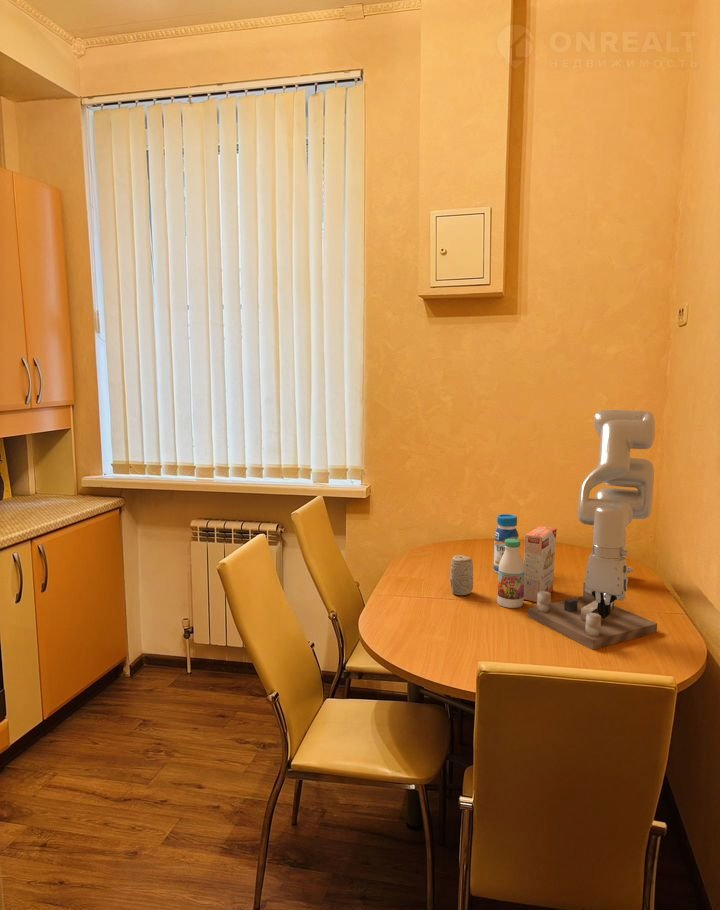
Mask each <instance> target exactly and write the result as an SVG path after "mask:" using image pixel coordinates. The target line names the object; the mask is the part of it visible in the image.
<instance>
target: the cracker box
mask: <svg viewBox="0 0 720 910" xmlns="http://www.w3.org/2000/svg"><path fill="white" fill-rule="evenodd" d="M557 532H558V531H557V528H556V527H551V526H543V525H539V526H537V527H536V528H535V529H532V530H531V531H529V532H527V533H526V534H524V551H523V552H524V554H523V563H524V598H523V601H524V600H525V601H530V602H534V603H537V595H538V592H540V591H545V592H549V593H550V594H551V592H552V591H554V578H555V577H554V575H555V574H554V573H555V559H556V546H557V545H556V544H557V543H556V542H557Z"/></svg>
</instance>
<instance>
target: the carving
mask: <svg viewBox="0 0 720 910" xmlns="http://www.w3.org/2000/svg"><path fill="white" fill-rule="evenodd" d="M473 564H474V563H473V559H472V558H471V557H470V556H466V555H463V554H458V555H457V554H456V555H454V556H453V557H452V558H451V562H450V566H451V567H450V571H449V572H450V573H449V575H450V576H449V583H450V587H451V593H452V594H454V595H455V596H466V595H470V594H471V593H472V592H473V589H474V565H473Z"/></svg>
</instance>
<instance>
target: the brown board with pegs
mask: <svg viewBox="0 0 720 910" xmlns="http://www.w3.org/2000/svg"><path fill="white" fill-rule="evenodd" d="M582 587H583V589H582V590H583V591H582V596H578V597H573V598H568V599H564V600H560V601H556V602H551V600H552V599H551V598H552V597H551V596H552V593H551V592H550V593H549V592H545V591H540V592H538V595H537V602H536V606H533V607H529V608H527V617H528V619H532V620H533V621H535V622H537V623H539V624H541V625H543V626H545V627H547V628H550V629H551V630H552V631H555V632H557V633H558V634H561V635H562V636H564V637H566V638H569V639H571V640H572V641H575V642H576V643H578V644H580V645H582V646H585V647H586V648H588V649H590V650H592V651H594V650H597V649H601V648H605V647H608V646H611V645H612V646H613V645H616V644H620V643H623V642H627V641H630V640H634V639H638V638H641V637H645V636H648V635H652V634H655V633H657V631H658V630H657V629H658V623H656V622H654V621H652V620H650V619H647V618H645V617H642V616H639V615H637V614H635V613H632V612H631V611H628V610H626V609H622V608H621V607H618V606H616V605H614V608H613V609H611V610H610V615H609V616H607V617H606V618H605V619H604V618H602V617H601V616H600V615H599V614H596V613H587V614H586V620H583V619H581V608H583V607H585V606H586V605H588V604H590V603H592V602H593V601H595V600H596V599H595V598H594V596H593V595H592V594H590V593H588V592H586V591H585V587H586V586H585V581H584V582H583V586H582Z"/></svg>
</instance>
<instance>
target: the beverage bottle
mask: <svg viewBox="0 0 720 910" xmlns="http://www.w3.org/2000/svg"><path fill="white" fill-rule="evenodd" d="M496 520H497V521H496V523H497V526H498V527H497V528H496V530H495V532H494V536H495V537H494V540H493V547H494V548H493V549H494V550H493V571H494V572H495V573H496V574H498V571H499V563H500V560H501V558H502V557H503V554H504V552H505V547H504V546H505V540H506V539H517V540H519V538H520V537H519V532H518V530H517V528H516V527H517V525H518V517H517V516H516V515H514V514H508V513H504V514H503V513H501V514H498V515H497V519H496Z"/></svg>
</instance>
